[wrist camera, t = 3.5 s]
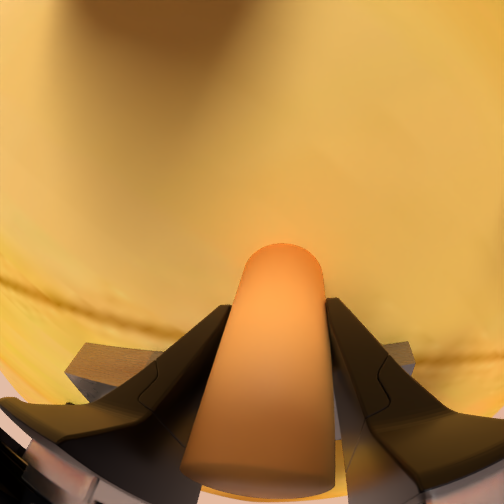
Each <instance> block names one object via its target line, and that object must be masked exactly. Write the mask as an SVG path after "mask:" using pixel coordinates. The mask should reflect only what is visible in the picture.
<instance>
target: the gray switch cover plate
mask: <svg viewBox="0 0 504 504" xmlns="http://www.w3.org/2000/svg"><path fill="white" fill-rule="evenodd" d="M152 353H153V351H146V350H136V349H127V348H119V347H111V346H104V345H97V344H91V343H85V344H84V346H83V347H82V348H81V350H80V351H79V352H78V354H77V355H76V356H75V358H74V359H73V361H72V362H71V363H70V365H69V366H68V368H67V369H66V370H65V374H66V375H67V376H68V378H69V379H70V380H71V381H72V382H73V384H74V385H75V386H76V387H77V388H78V390H79V391H80V392H81V393H82V394H83V395H84V397H85V398H86V399H87V400H88V401H89V402H90V403H92V402H94V401H96V400H98V399H100V398H102V397H103V396H105V395H106V394H108V393H109V392H111V391H112V390H114V389H115V388H117V387H118V386H120V385H121V384H123V383H124V382H126V381H127V380H129V379H130V378H132V377H133V376H134V375H136V374H137V373H139V372H140V371H141V370H142V369H144V368H145V366H146V364H147V362H148V360H149V358H150V356H151V354H152Z"/></svg>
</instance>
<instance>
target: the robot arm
mask: <svg viewBox="0 0 504 504" xmlns="http://www.w3.org/2000/svg"><path fill="white" fill-rule="evenodd" d="M231 308H232V305H220V306H218V307H217V308H216V309H215V310H214V311H213V312H211V313H210V314H209V315H208V316H207V317H205V318H204V319H203V320H202V321H201V322H199V323H198V324H197V325H196V326H195V327H194V328H192V329H191V330H190V331H189V332H188V333H186V334H185V335H184V336H183V337H182V338H180V339H179V340H178V341H177V342H176V343H174V344H173V345H172V346H171V347H170V348H168V349H167V350H166V351H165V352H163V353H162V354H161V355H160V356H159V357H157V358H156V360H154V361H152V362H151V363H150V364H149V365H148V366H146V367H145V368H144V369H142V370H141V371H140V372H139V373H137V374H136V375H134V376H133V377H132V378H130V379H129V380H127V381H126V382H124V383H123V384H121V385H120V386H118V387H117V388H115V389H114V390H112V391H111V392H109V393H108V394H106V395H105V396H103V397H102V398H100V399H98V400H96V401H94V402H92V403H88V404H83V405H72V404H70V403H66V404H65V405H45V404H31V403H26V402H23V401H21V400H19V399H17V398H15V397H4V398H1V399H0V408H1V410H2V411H3V412H4V413H5V414H6V415H7V416H8V417H9V418H10V419H11V420H12V421H13V422H14V423H15V424H17V425H18V426H19V427H20V428H21V429H22V430H23V431H24V432H25V433H26V434H28V435H29V436H30V437H31V438H32V440H31V442H30V444H29V445H28V447H27V449H25V448H23V447H22V446H21V445H20V444H18V443H17V442H16V441H15V440H14V439H12V438H11V437H10V436H9V435H8V434H7V433H6V432H5V431H4V430H2V429H1V428H0V504H197V501H198V497H199V493H200V490H201V486H202V484H199V483H197V482H195V481H193V480H191V479H190V478H188V477H186V476H185V475H184V474H183V473H182V472H181V471H180V469H179V468H180V465H181V461H182V458H183V455H184V452H185V449H186V446H187V443H188V440H189V437H190V434H191V431H192V428H193V424H194V421H195V418H196V415H197V412H198V409H199V406H200V403H201V400H202V397H203V394H204V391H205V388H206V385H207V381H208V378H209V375H210V372H211V369H212V366H213V363H214V360H215V357H216V354H217V351H218V348H219V345H220V342H221V339H222V336H223V333H224V329H225V326H226V323H227V320H228V317H229V314H230V311H231ZM326 310H327V320H328V330H329V337H330V348H331V361H332V376H333V388H334V394H335V400H336V407H337V413H338V419H339V426H340V433H341V440H342V448H343V455H344V463H345V472H346V481H347V491H348V502H349V504H504V419H496V418H489V417H481V416H474V415H468V414H462V413H458V412H455V411H453V410H451V409H449V408H447V407H446V406H445V405H443V404H442V403H441V402H440V401H438V400H437V399H436V398H435V397H434V396H433V395H432V394H430V393H429V392H428V391H427V390H426V389H425V388H424V387H422V386H421V385H420V384H419V383H418V382H417V381H416V380H415V379H413V378H412V377H411V376H410V375H409V374H408V373H407V372H406V371H405V370H404V369H403V368H402V367H401V366H400V365H399V364H398V363H397V362H396V361H395V359H394V358H393V357H392V356H391V355H389V353H388V352H387V350H386V349H385V348H384V347H383V346H382V345H381V344H380V343H379V342H378V341H377V339H376V338H375V337H374V336H373V335H372V334H371V333H370V332H369V331H368V330H367V328H366V327H365V326H364V325H363V324H362V323H361V322H360V321H359V320H358V319H357V318H356V316H355V315H354V314H353V313H352V312H351V311H350V310H349V309H348V308H347V307H346V306H345V305H344V304H343V302H342V301H341V300H340V299H339V298H327V299H326Z"/></svg>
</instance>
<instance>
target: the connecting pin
mask: <svg viewBox="0 0 504 504" xmlns="http://www.w3.org/2000/svg"><path fill="white" fill-rule="evenodd" d="M179 469H180V471H181V472H182V473H183V474H184V475H185V476H186V477H188V478H190V479H191V480H193V481H195V482H197V483H199V484H202V485H204V486H207V487H210V488H213V489H216V490H219V491H223V492H227V493H231V494H236V495H241V496H247V497H255V498H267V499H292V498H302V497H309V496H314V495H318V494H322V493H325V492H327V491H329V490H331V489H332V488H333V487H334V486H335V417H334V393H333V376H332V361H331V348H330V337H329V330H328V320H327V310H326V299H325V290H324V282H323V274H322V270H321V267H320V264H319V263H318V261H317V260H316V258H315V257H314V256H313V255H312V254H311V253H310V252H308V251H307V250H305V249H303V248H301V247H299V246H296V245H292V244H285V243H280V244H272V245H268V246H266V247H263V248H261V249H260V250H258V251H257V252H255V253H254V254H253V255H252V256H251V257H250V258H249V260H248V261H247V263H246V265H245V268H244V272H243V275H242V278H241V281H240V284H239V287H238V290H237V293H236V296H235V299H234V302H233V305H232V308H231V311H230V314H229V317H228V320H227V323H226V326H225V329H224V333H223V336H222V339H221V342H220V345H219V348H218V351H217V354H216V357H215V360H214V363H213V366H212V369H211V372H210V375H209V378H208V381H207V385H206V388H205V391H204V394H203V397H202V400H201V403H200V406H199V409H198V412H197V415H196V418H195V421H194V424H193V428H192V431H191V434H190V437H189V440H188V443H187V446H186V449H185V452H184V455H183V458H182V461H181V465H180V468H179Z"/></svg>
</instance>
